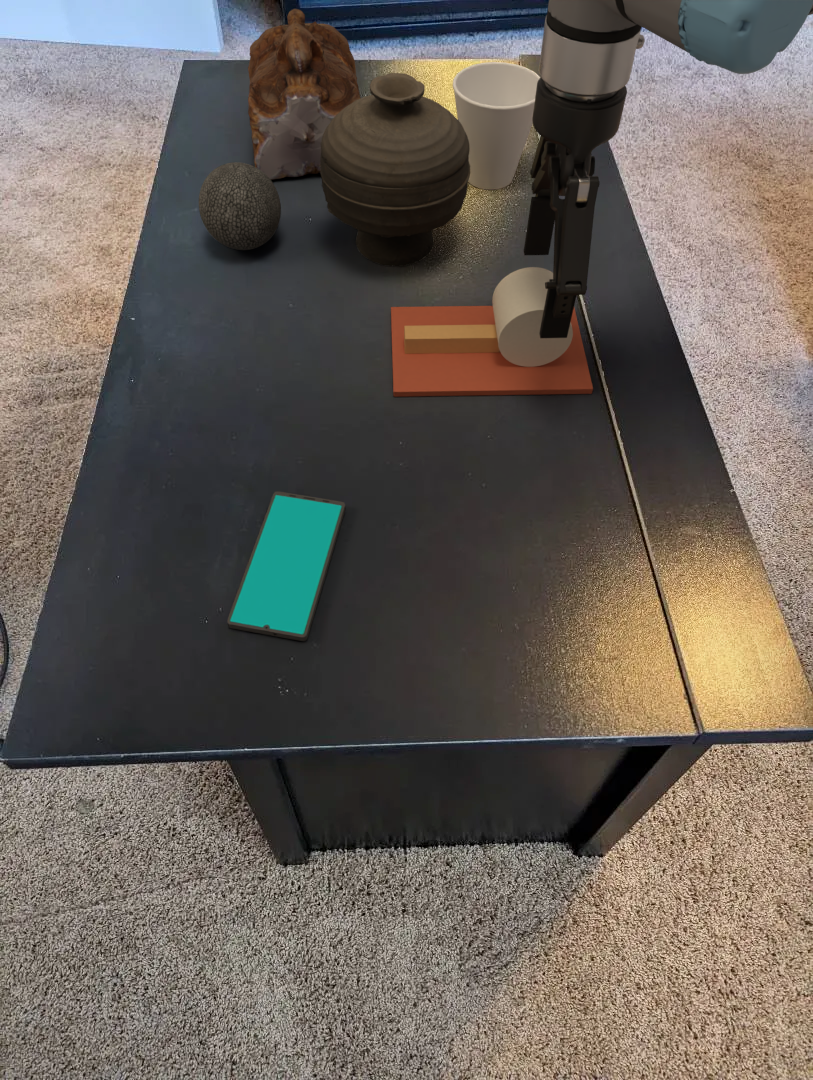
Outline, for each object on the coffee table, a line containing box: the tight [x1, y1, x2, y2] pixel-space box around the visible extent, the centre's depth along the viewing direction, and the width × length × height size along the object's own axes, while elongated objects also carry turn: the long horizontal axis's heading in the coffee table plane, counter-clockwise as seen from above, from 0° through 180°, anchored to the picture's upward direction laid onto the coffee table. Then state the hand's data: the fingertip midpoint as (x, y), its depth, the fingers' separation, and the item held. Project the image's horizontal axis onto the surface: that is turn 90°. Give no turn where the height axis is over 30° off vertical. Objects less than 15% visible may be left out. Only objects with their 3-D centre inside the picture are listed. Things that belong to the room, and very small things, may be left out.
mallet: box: [404, 266, 573, 367], centre depth 84 cm, size 18×7×8 cm, turn 92°
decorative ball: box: [198, 161, 282, 251], centre depth 94 cm, size 10×10×10 cm
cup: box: [452, 61, 540, 191], centre depth 102 cm, size 12×12×12 cm
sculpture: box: [247, 8, 362, 181], centre depth 107 cm, size 19×18×20 cm
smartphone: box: [226, 490, 346, 642], centre depth 71 cm, size 7×1×15 cm
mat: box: [390, 305, 594, 398], centre depth 87 cm, size 22×14×1 cm, turn 92°
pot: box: [319, 72, 470, 267], centre depth 91 cm, size 18×18×20 cm
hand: (544, 292), depth 81 cm, fingers open, 13 cm apart
